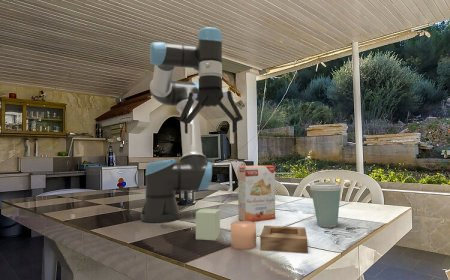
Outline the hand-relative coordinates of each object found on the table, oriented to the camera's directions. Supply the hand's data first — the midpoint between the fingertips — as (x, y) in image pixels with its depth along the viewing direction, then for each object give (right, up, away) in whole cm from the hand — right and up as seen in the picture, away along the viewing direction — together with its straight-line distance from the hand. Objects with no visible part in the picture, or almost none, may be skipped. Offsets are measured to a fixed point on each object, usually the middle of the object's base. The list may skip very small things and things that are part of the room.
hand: (210, 143), depth 91 cm
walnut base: (+21, -28, -10) cm, 37 cm away
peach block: (+10, -28, -11) cm, 32 cm away
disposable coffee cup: (+40, -29, +11) cm, 51 cm away
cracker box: (+17, -30, +21) cm, 41 cm away
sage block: (-1, -29, -2) cm, 29 cm away
